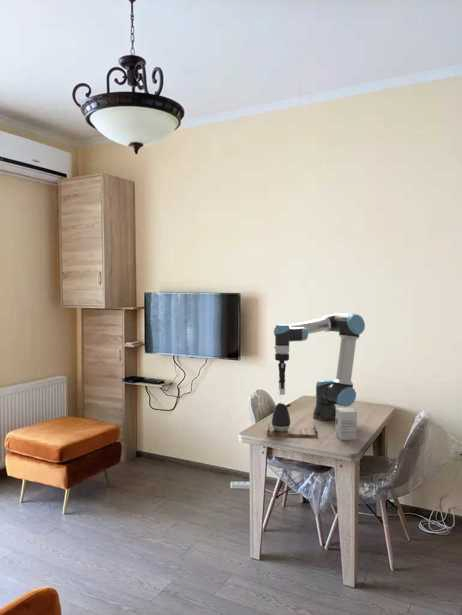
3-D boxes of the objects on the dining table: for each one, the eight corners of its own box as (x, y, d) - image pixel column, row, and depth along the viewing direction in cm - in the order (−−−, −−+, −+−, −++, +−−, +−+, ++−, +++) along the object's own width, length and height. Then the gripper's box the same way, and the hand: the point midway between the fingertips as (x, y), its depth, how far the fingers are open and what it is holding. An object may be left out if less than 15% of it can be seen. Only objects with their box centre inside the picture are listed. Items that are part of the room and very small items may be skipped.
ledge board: (315, 431, 266) (315, 424, 265) (317, 437, 254) (317, 431, 253) (268, 429, 268) (268, 423, 267) (268, 436, 256) (268, 429, 255)
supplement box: (334, 435, 259) (335, 407, 258) (351, 434, 259) (351, 407, 259) (340, 440, 250) (340, 411, 249) (356, 440, 250) (357, 411, 250)
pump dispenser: (292, 432, 257) (293, 404, 256) (273, 433, 255) (274, 405, 255) (287, 427, 267) (288, 400, 266) (269, 428, 265) (269, 400, 265)
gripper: (274, 349, 272) (274, 387, 273) (275, 356, 247) (275, 396, 248) (288, 350, 272) (287, 387, 273) (290, 356, 247) (289, 397, 248)
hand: (281, 391), depth 260 cm, fingers open, 13 cm apart
